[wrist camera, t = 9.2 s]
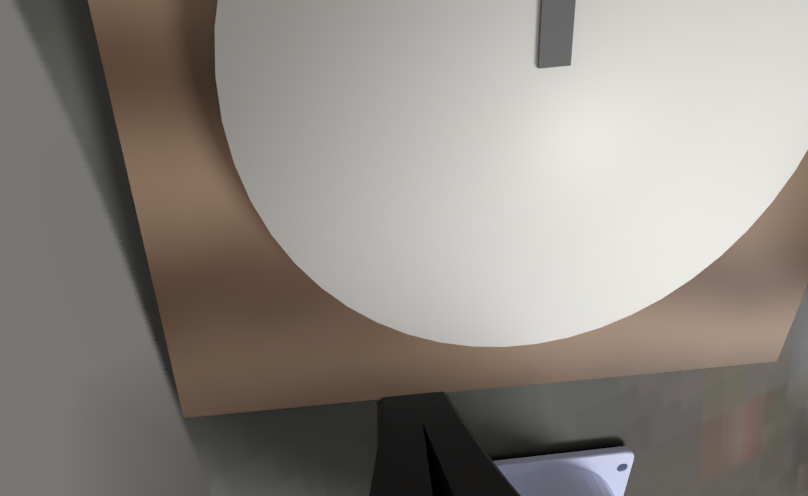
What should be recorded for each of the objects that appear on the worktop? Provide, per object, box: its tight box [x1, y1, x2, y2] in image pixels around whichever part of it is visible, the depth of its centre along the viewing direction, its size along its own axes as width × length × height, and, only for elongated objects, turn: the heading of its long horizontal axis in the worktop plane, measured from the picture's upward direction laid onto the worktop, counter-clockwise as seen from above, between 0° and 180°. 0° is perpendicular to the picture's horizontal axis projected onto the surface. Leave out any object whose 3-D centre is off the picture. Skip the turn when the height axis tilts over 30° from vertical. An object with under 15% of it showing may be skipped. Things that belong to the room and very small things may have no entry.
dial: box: [215, 0, 808, 347], centre depth 15 cm, size 18×18×4 cm
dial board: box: [88, 0, 808, 418], centre depth 18 cm, size 24×24×1 cm
